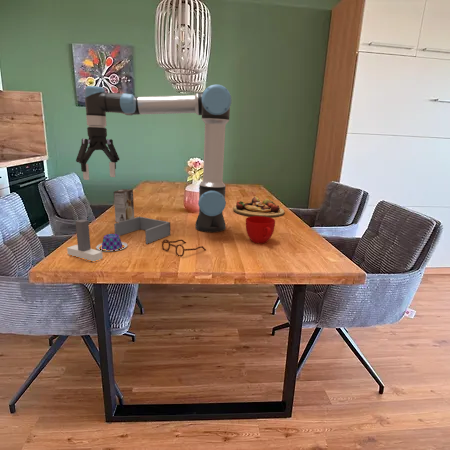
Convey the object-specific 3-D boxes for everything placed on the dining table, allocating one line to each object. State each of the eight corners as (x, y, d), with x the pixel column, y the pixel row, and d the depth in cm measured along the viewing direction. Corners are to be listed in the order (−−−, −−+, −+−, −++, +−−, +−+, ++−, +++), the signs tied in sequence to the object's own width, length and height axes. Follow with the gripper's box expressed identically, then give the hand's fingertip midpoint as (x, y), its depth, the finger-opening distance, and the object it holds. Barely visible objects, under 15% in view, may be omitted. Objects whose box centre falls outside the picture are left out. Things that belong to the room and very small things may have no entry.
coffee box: (123, 217, 175) (122, 188, 171) (134, 218, 174) (133, 189, 170) (115, 222, 166) (113, 191, 162) (126, 223, 165) (124, 192, 161)
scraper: (102, 259, 117) (100, 222, 114) (93, 262, 114) (90, 225, 110) (77, 252, 124) (73, 216, 120) (67, 255, 120) (64, 219, 116)
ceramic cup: (254, 249, 132) (255, 226, 130) (240, 237, 148) (241, 216, 145) (282, 247, 136) (284, 225, 133) (266, 236, 152) (268, 215, 149)
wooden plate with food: (234, 217, 185) (235, 203, 182) (231, 205, 215) (232, 193, 213) (289, 220, 186) (291, 206, 184) (278, 207, 217) (279, 195, 215)
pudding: (90, 247, 130) (89, 235, 128) (118, 241, 138) (117, 229, 137) (105, 255, 122) (104, 242, 120) (133, 248, 130) (132, 235, 129)
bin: (170, 234, 148) (170, 222, 147) (147, 244, 135) (146, 230, 133) (139, 228, 157) (139, 216, 155) (115, 236, 143) (114, 223, 141)
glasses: (161, 250, 130) (160, 238, 128) (185, 243, 139) (185, 232, 138) (182, 259, 121) (182, 246, 120) (207, 251, 131) (207, 239, 129)
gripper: (114, 127, 145) (116, 175, 150) (63, 125, 124) (68, 180, 130) (126, 128, 141) (128, 176, 147) (75, 125, 120) (80, 182, 126)
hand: (100, 178), depth 138 cm, fingers open, 13 cm apart
